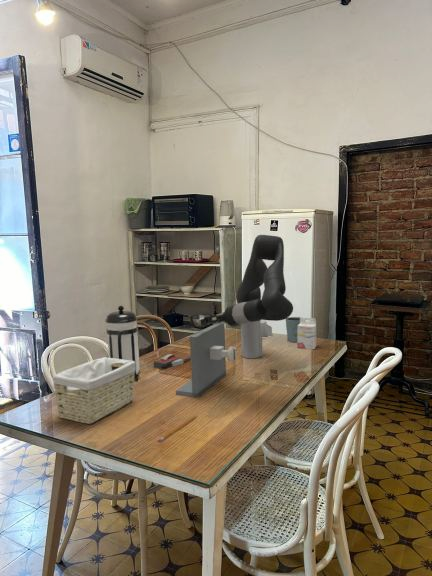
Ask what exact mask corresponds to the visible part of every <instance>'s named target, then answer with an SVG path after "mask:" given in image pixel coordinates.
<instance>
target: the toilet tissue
mask: <svg viewBox="0 0 432 576" xmlns="http://www.w3.org/2000/svg"><path fill="white" fill-rule="evenodd" d="M271 335H272V336H273V327H272V326H271V325H269V324H267V320H261V336H262V337H268V336H271ZM268 338H269V337H268Z"/></svg>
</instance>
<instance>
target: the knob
mask: <svg viewBox="0 0 432 576" xmlns="http://www.w3.org/2000/svg"><path fill="white" fill-rule="evenodd" d="M220 355H221V357H226V358H227V361H228V362H230V363H231V362H235V361H236V360H237V359H236V358H237V355H238V353H237V348H236V346H231V345H230V346H228V349H225V350H221V351H220Z"/></svg>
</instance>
